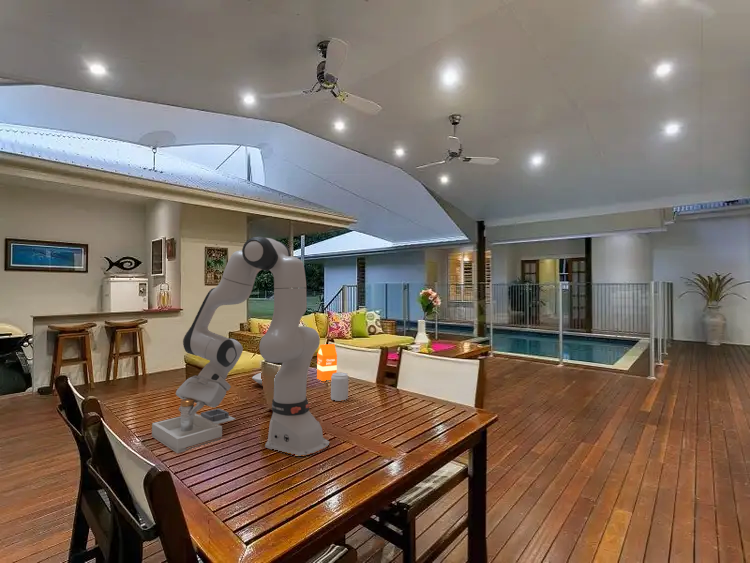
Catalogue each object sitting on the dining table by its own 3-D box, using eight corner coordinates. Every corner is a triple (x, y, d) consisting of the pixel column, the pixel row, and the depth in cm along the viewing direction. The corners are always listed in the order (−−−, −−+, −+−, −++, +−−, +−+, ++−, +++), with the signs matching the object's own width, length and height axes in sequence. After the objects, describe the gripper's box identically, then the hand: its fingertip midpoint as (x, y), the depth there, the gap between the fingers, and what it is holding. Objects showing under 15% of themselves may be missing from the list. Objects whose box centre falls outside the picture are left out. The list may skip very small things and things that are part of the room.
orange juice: (336, 380, 218) (337, 344, 218) (321, 382, 214) (322, 345, 214) (330, 377, 225) (331, 342, 225) (316, 379, 221) (317, 343, 221)
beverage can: (339, 403, 178) (340, 377, 178) (327, 399, 183) (327, 374, 183) (351, 399, 184) (352, 374, 184) (338, 396, 189) (339, 371, 189)
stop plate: (235, 421, 152) (236, 413, 152) (211, 428, 145) (211, 420, 145) (217, 413, 161) (217, 405, 161) (193, 419, 154) (193, 411, 154)
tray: (221, 439, 135) (222, 426, 135) (177, 453, 124) (177, 439, 124) (194, 424, 148) (194, 412, 148) (151, 436, 136) (152, 423, 136)
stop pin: (195, 429, 136) (196, 400, 136) (183, 432, 133) (184, 403, 133) (189, 426, 139) (190, 397, 139) (177, 429, 135) (178, 400, 135)
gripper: (187, 370, 147) (161, 402, 138) (224, 377, 137) (198, 413, 128) (197, 379, 151) (173, 411, 142) (234, 387, 141) (210, 423, 132)
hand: (185, 412), depth 135 cm, fingers closed on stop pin, 4 cm apart
